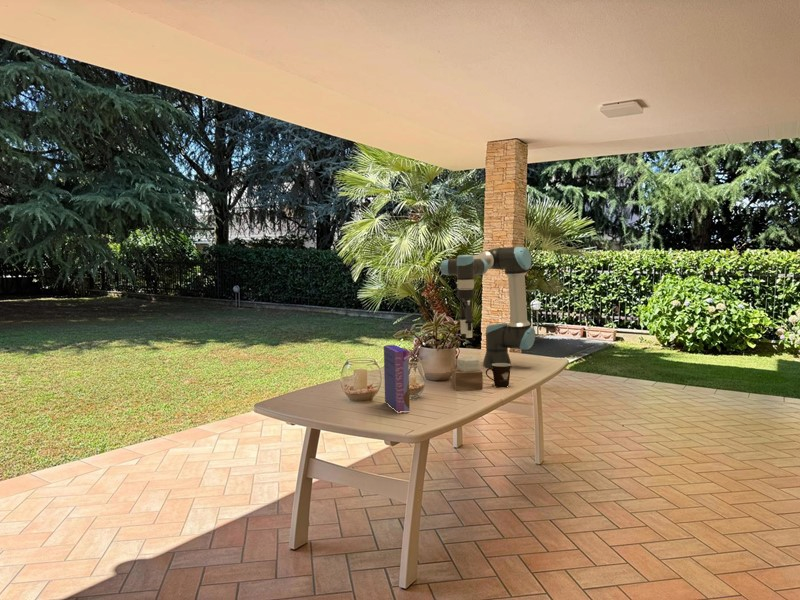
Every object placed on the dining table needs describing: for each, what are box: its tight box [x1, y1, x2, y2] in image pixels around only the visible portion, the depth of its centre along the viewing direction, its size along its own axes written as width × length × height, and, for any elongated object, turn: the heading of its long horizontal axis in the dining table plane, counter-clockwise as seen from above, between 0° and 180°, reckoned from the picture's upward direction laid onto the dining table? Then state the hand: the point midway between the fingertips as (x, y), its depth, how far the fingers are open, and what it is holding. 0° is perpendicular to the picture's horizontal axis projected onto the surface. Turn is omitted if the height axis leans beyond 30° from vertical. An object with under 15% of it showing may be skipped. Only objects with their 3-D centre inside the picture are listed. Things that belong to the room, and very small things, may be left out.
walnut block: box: [451, 367, 484, 392], centre depth 255 cm, size 12×12×8 cm
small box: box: [456, 357, 480, 372], centre depth 254 cm, size 8×8×5 cm
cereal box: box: [383, 344, 411, 412], centre depth 221 cm, size 17×5×24 cm, turn 18°
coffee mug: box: [485, 363, 512, 388], centre depth 256 cm, size 12×9×10 cm
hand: (466, 335), depth 253 cm, fingers open, 13 cm apart
